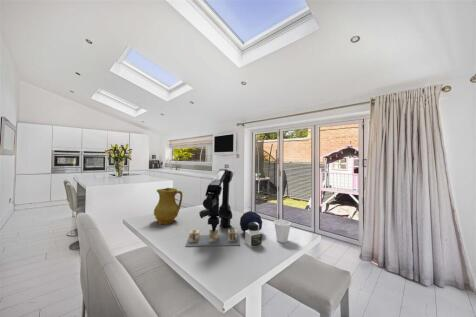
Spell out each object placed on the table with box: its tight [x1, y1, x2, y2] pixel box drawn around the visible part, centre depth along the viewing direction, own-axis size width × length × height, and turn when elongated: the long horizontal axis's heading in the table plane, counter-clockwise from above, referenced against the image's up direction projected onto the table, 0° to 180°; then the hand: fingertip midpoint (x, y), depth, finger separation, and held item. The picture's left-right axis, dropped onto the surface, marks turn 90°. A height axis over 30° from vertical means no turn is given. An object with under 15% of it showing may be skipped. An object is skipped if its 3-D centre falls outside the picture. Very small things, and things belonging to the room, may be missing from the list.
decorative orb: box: [239, 210, 263, 234], centre depth 124 cm, size 14×15×15 cm
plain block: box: [208, 229, 219, 242], centre depth 112 cm, size 5×5×5 cm
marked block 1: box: [188, 229, 200, 242], centre depth 111 cm, size 5×5×5 cm
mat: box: [185, 234, 241, 248], centre depth 112 cm, size 30×14×1 cm, turn 95°
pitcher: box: [153, 187, 183, 225], centre depth 143 cm, size 17×19×25 cm
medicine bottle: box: [244, 222, 263, 248], centre depth 109 cm, size 7×7×12 cm
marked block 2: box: [227, 228, 238, 241], centre depth 113 cm, size 5×5×5 cm
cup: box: [273, 219, 292, 244], centre depth 114 cm, size 10×10×11 cm
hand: (213, 231), depth 112 cm, fingers closed, pressing on plain block
